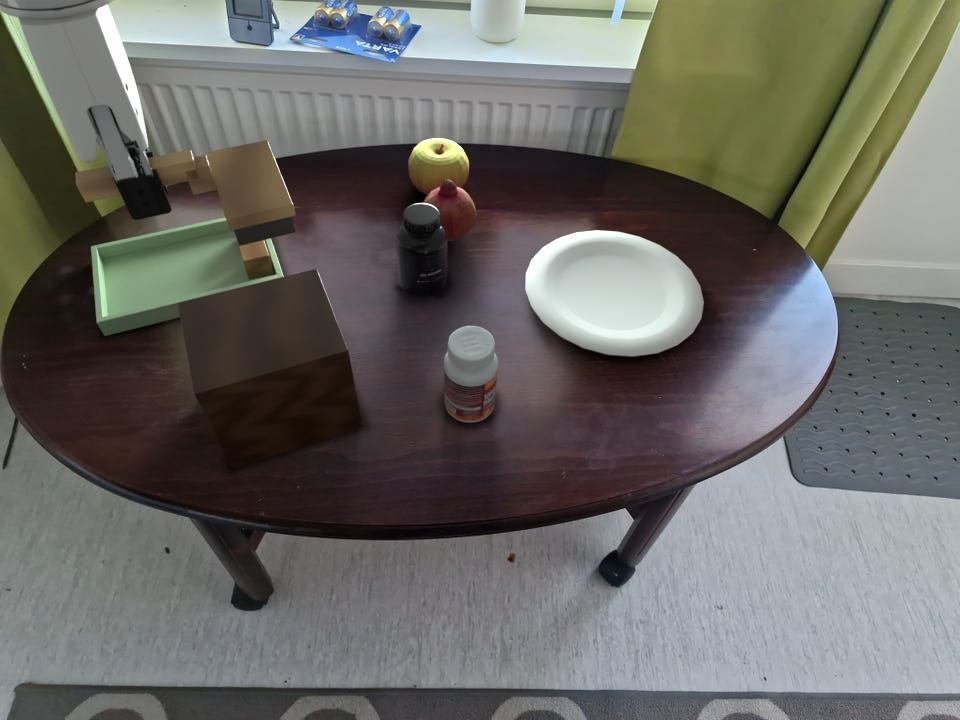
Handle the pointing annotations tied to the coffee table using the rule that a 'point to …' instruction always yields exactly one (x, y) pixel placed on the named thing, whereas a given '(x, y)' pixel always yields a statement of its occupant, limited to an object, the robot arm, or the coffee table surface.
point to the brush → (219, 187)
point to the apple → (437, 164)
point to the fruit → (453, 209)
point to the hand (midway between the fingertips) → (150, 204)
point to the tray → (166, 273)
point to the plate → (614, 293)
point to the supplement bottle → (422, 251)
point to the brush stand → (270, 366)
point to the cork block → (256, 260)
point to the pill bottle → (470, 374)
